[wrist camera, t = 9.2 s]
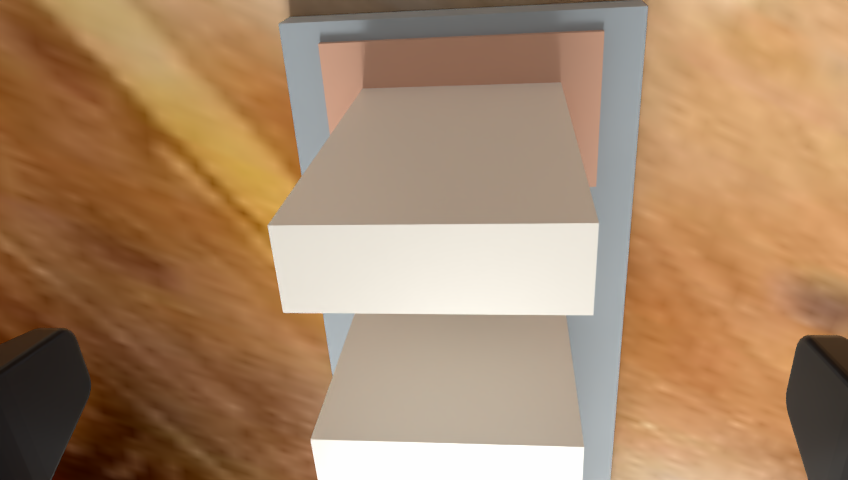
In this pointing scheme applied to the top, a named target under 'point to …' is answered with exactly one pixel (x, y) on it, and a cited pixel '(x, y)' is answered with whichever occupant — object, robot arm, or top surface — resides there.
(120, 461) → the top surface
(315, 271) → the end domino
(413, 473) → the domino
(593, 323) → the domino board
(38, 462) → the robot arm
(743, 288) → the top surface
